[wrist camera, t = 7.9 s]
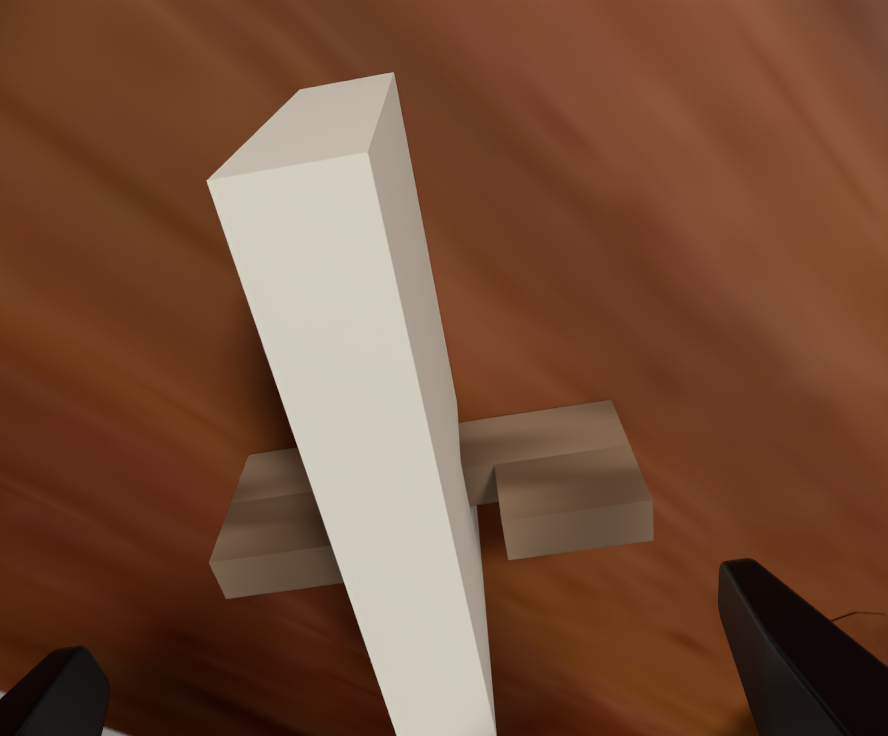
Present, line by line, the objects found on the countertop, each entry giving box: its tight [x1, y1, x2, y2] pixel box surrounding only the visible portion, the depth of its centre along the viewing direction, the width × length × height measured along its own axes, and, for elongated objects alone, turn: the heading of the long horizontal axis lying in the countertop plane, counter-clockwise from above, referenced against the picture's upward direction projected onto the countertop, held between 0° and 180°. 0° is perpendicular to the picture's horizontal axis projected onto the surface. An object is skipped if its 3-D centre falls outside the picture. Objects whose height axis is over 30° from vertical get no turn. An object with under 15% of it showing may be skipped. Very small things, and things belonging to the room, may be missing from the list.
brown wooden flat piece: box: [209, 400, 654, 599], centre depth 17 cm, size 10×1×4 cm, turn 100°
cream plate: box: [207, 72, 497, 736], centre depth 14 cm, size 12×2×7 cm, turn 10°
